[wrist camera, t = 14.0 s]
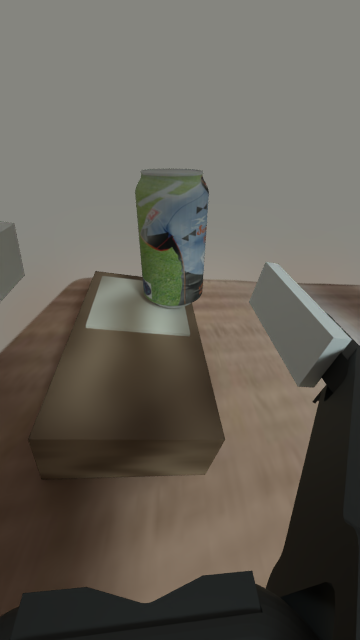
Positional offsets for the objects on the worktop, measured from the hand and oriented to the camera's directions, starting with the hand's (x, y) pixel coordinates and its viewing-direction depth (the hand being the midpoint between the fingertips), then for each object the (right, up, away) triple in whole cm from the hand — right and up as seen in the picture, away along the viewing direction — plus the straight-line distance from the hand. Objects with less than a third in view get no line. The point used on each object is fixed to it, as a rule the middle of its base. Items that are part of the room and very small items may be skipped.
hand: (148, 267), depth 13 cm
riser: (-3, -8, +11) cm, 14 cm away
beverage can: (0, -1, +13) cm, 13 cm away
